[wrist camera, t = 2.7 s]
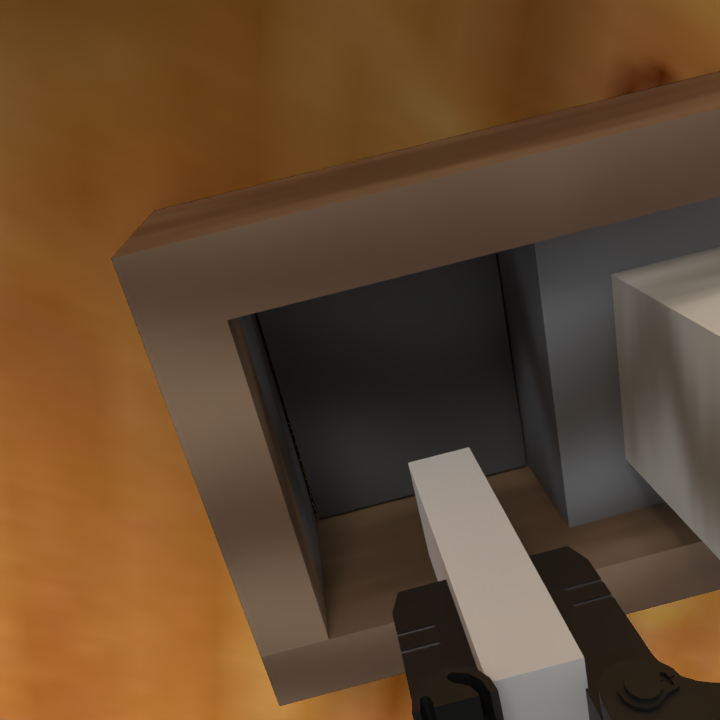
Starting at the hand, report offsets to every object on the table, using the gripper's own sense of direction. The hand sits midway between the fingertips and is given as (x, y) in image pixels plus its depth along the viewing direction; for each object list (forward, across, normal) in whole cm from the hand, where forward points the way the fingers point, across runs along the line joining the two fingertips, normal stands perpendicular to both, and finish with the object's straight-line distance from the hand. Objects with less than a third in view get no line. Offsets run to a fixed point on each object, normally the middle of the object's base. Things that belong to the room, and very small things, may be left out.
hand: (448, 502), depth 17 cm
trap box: (+8, +13, 0) cm, 15 cm away
